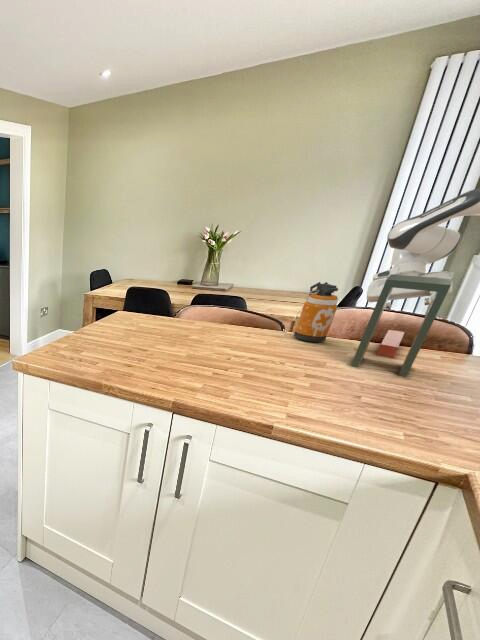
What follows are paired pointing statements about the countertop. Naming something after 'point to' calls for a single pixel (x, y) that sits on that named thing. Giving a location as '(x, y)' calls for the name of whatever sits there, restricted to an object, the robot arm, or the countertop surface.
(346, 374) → the countertop surface
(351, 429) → the countertop surface
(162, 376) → the countertop surface
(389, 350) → the red bar
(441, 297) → the dark green stand
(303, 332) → the canister
